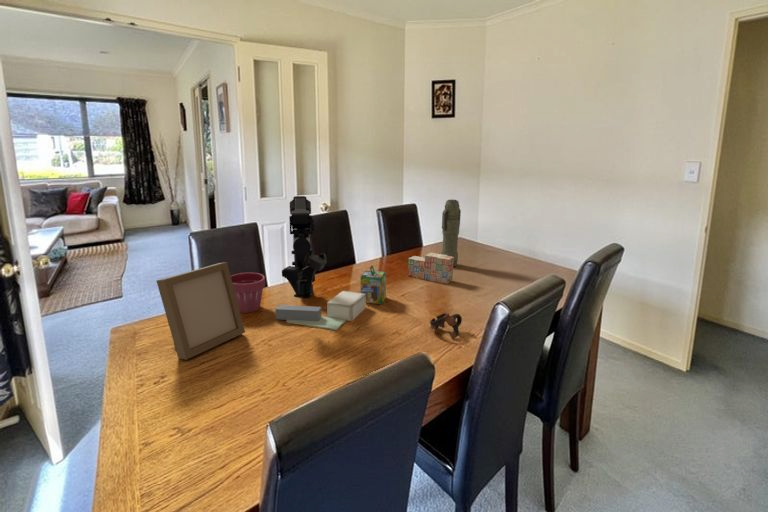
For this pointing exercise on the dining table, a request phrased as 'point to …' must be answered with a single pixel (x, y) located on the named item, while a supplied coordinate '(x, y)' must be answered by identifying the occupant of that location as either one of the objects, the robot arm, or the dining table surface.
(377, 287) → the green product box
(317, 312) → the grey blank
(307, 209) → the robot arm
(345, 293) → the gray cuboid case
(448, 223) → the dark grey statuette
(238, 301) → the plant pot
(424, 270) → the stack of blocks
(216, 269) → the photo frame
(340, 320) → the felt pad
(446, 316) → the dark looped figurine
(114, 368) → the dining table surface
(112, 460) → the dining table surface
